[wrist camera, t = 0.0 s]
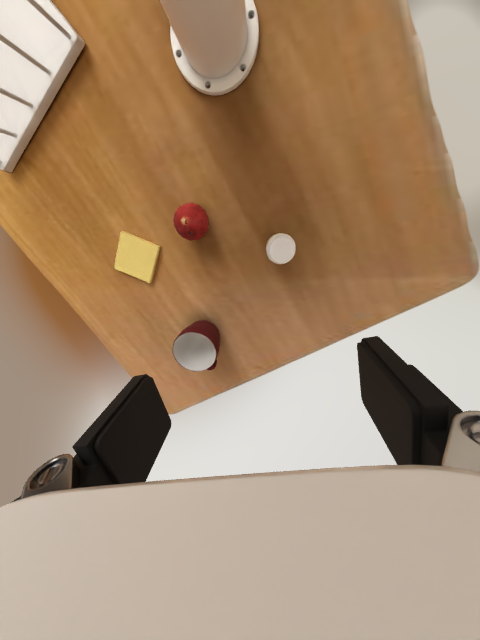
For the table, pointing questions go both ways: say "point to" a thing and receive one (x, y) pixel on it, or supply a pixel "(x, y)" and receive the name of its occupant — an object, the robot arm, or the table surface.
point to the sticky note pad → (136, 256)
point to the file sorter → (30, 69)
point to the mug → (197, 346)
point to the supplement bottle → (280, 248)
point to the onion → (191, 221)
